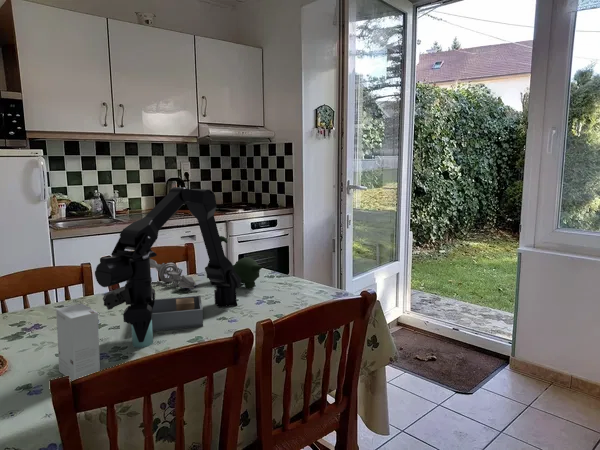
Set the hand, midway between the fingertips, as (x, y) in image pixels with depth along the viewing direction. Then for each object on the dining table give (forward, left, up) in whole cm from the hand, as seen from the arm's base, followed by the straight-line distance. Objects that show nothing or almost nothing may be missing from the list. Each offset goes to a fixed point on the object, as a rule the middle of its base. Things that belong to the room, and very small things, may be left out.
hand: (142, 335), depth 111 cm
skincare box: (+12, +13, -2) cm, 18 cm away
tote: (-7, -14, -2) cm, 16 cm away
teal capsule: (0, 0, -2) cm, 2 cm away
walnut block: (-11, -14, -1) cm, 18 cm away
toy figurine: (-30, -45, -2) cm, 54 cm away
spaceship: (-5, -56, -2) cm, 56 cm away
